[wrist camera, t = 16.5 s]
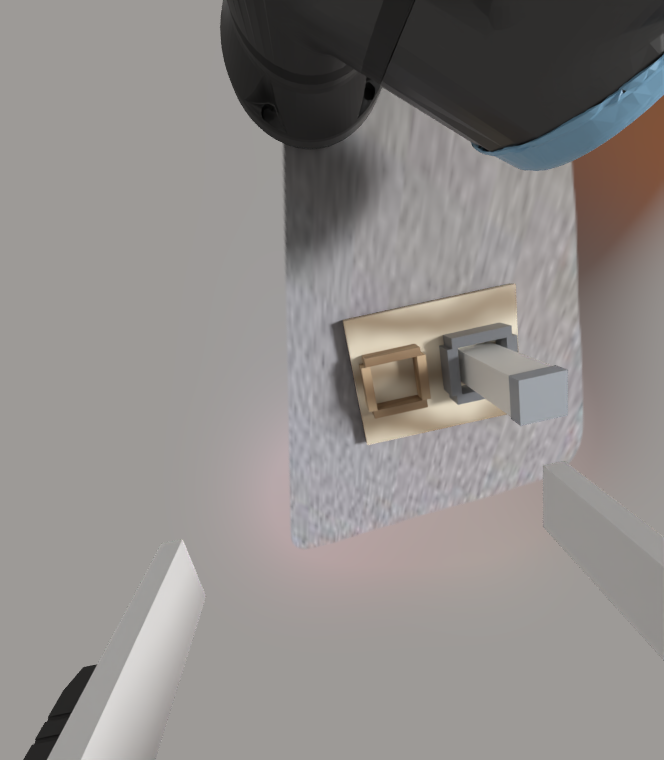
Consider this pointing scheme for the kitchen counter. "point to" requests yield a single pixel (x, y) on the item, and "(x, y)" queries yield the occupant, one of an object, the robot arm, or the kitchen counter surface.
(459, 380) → the port
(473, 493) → the kitchen counter surface
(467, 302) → the board
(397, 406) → the holster
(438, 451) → the kitchen counter surface
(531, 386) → the plug
